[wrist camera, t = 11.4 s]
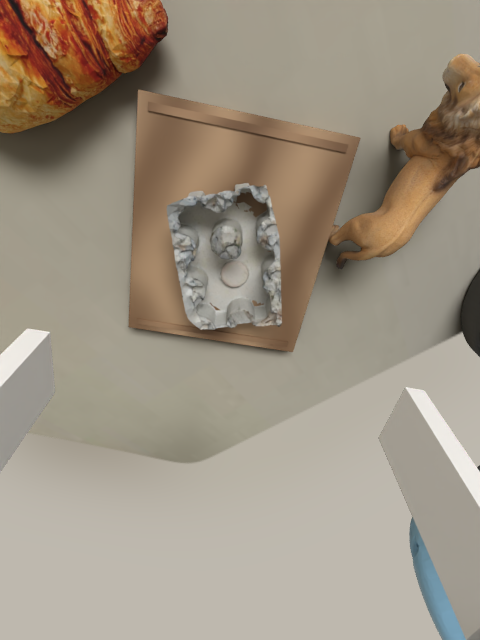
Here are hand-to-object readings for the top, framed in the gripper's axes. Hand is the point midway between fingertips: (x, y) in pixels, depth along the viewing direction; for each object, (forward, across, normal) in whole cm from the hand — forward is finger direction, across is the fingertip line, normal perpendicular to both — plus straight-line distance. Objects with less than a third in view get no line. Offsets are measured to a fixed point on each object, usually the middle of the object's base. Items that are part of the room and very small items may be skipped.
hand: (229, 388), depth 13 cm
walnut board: (+18, 0, 0) cm, 18 cm away
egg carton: (+17, 0, 0) cm, 17 cm away
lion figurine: (+19, -10, -7) cm, 22 cm away
